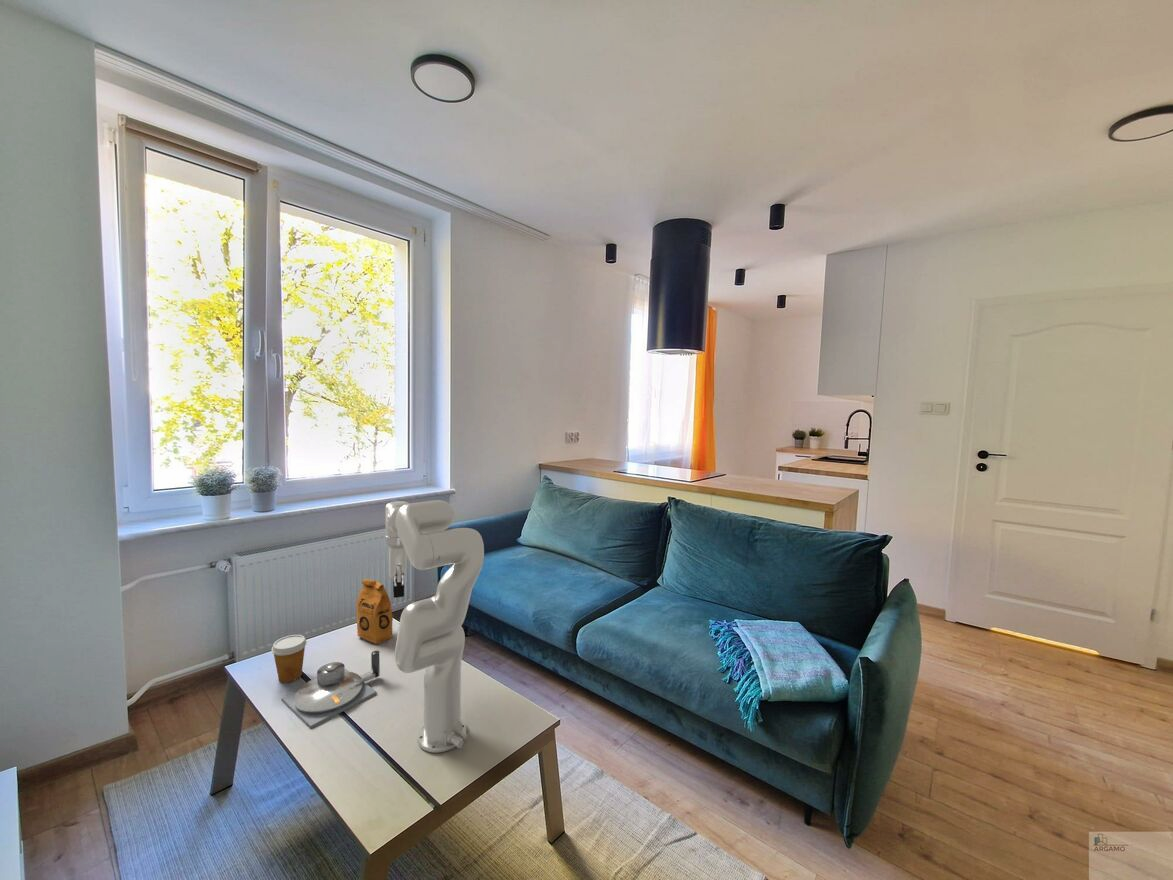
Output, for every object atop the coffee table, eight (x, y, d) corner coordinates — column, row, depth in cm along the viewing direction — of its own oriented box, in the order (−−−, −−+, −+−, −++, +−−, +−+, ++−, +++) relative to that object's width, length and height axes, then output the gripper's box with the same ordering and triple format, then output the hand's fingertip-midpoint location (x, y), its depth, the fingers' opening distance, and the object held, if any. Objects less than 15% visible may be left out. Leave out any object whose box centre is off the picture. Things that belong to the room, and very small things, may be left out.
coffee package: (373, 648, 167) (372, 590, 165) (353, 638, 173) (352, 581, 171) (397, 636, 175) (396, 581, 173) (377, 627, 182) (377, 573, 180)
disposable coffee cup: (314, 669, 153) (313, 635, 152) (293, 687, 144) (292, 650, 143) (287, 667, 154) (286, 632, 153) (265, 684, 145) (263, 648, 144)
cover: (349, 678, 145) (349, 664, 144) (324, 690, 139) (324, 676, 138) (337, 669, 149) (337, 656, 149) (312, 680, 143) (312, 667, 143)
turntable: (303, 722, 127) (302, 696, 126) (288, 691, 140) (287, 667, 139) (390, 687, 143) (390, 663, 143) (369, 662, 156) (369, 640, 156)
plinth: (376, 693, 142) (376, 691, 142) (310, 728, 127) (310, 725, 126) (345, 670, 153) (345, 668, 153) (281, 700, 138) (281, 697, 138)
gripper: (385, 533, 155) (385, 586, 156) (385, 549, 140) (386, 607, 141) (409, 531, 158) (409, 583, 160) (412, 546, 143) (412, 603, 145)
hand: (398, 593), depth 150 cm, fingers open, 3 cm apart
